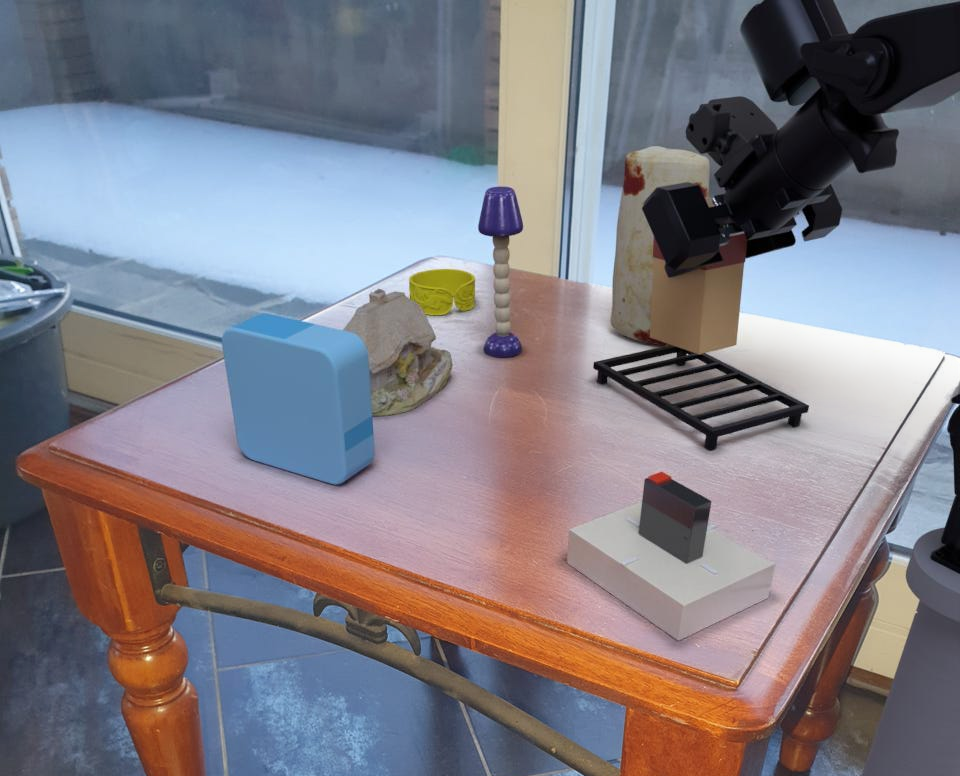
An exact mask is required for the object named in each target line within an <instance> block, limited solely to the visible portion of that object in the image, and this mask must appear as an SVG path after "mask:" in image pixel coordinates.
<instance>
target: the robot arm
mask: <svg viewBox="0 0 960 776" xmlns="http://www.w3.org/2000/svg"><path fill="white" fill-rule="evenodd" d="M739 33H740V36H741V38H742V40H743V43H744V44H745V46H746V49H747V51H748V53H749V56H750V58H751V60H752V62H753V64H754V66H755V69H756V71H757V73H758V75H759V77H760V80H761V82H762V85H763V86H764V88H765V89H764V90H765V91H766V93H767V95H768V97H769V99H770V101H771V102H773V103H783V102H787V103H788V105H789V106H791V107H796V106H800V105H801V107H799V109H798V110H796V112H795V113H793V115H792V116H791V117H790V118H789V119H788V120H786V122H785V123H784V124H783V125H782V126H781V127H780V128H779V129H778V126H777V125H776V123H775V122H774V121H773V120H772V119H771V118H770V117H769V116H768V115H767V114H766V113H765V112H764V111H763V110H762V109H761V108H760V107H759V106H758V105H757V104H756V103H755V102H754V101H753V100H752V99H750V98H748V97H746V96H741V95H739V96H737V95H736V96H730V97H722V98H715V99H714V98H713V99H710V100H709V101H708V102H707V103H701V104H700V105H699V107H698V109H697V110H696V111H695V112H694V113H693V112H692V113H691V114H690V115H689V117H688V123H687V125H686V128H685V138H686V140H687V141H688V142H689V143H690V144H691V145H692V146H693V148H694V149H695V150H696V151H697V152H698V154H699V155H704V154H707V155H708V156H709V157H710V158H711V159H712V160H713V161H714V162H715V164H717V165H718V166H720V167H719V168H718V169H717V171H715V173H714V174H713V176H714V179H715V181H716V183H717V185H718V188H720V189H722V188H724V191H725V192H724V193H721V194H716V195H714V196H712V197H711V198H712V203H713V205H714V206H713V207H709V206H708V204H707V202H706V199H705V197H704V195H703V193H702V190H701V188H700V186H699V185H697V184H693V183H690V182H685V183H679V184H673V185H668V186H662V187H657V188H656V189H655V190H654V191H653V192H652V193H651V194H650V196H649V197H648V198H647V199H646V200H645V201H644V204H643V206H642V210H643V213H644V215H645V217H646V219H647V222H648V224H649V226H650V228H651V231H652V233H653V235H654V237H655V240H656V242H657V244H658V247H659V249H660V251H661V253H662V256H663V258H664V260H665V262H666V264H665V266H664V268H665V271H666V273H667V276H668V277H669V278H670V277H674V276H678V275H681V274H684V273H687V272H691V271H694V270H697V269H700V268H703V267H707V266H710V265H713V264H716V263H720V262H722V261H723V259H722V256H721V254H720V252H719V247H720V246H724V245H726V244H727V243H728V242H729V240H730V236H733V235H738V234H743V233H745V236H746V238H747V249H746V259H750V258H755V257H758V256H760V255H764V254H768V253H769V254H770V253H772V252H776V251H779V250H782V249H786V248H790V247H793V246H794V245H795V244H796V242H797V239H796V236H795V234H794V232H793V230H792V229H794V228H795V227H796V226H797V225H798V223H797V221H796V218H797V217H798V216H799V215H800V212H801V211H802V213H803V215H804V218H805V219H806V222H807V224H808V225H807V226H806V227H805V228H804V229H803V230H802V231H801V238H802V240H803V242H809V241H813V240H814V241H815V240H818V239H822V238H823V239H824V238H826V237H827V236H828V235H829V234H830V233H831V232H833V231H834V230H835V229H837V227H839V226H840V223H841V219H842V213H843V207H842V205H841V203H840V200H839V198H838V196H837V194H836V192H835V190H834V187H833V185H832V183H833V182H834V181H836V180H837V179H838V178H839V177H840V176H841V175H842V174H844V173H845V172H846V171H847V170H848V169H849V168H851V167H852V166H853V165H854V167H855V168H856V172H858V173H859V174H867V173H873V172H878V171H882V170H889V169H892V168H894V167H895V166H896V163H897V156H898V148H897V142H898V141H897V140H898V137H899V135H900V130H899V129H898V128H892V127H888V125H886V123H885V121H884V119H883V116H882V115H883V114H890V113H895V112H902V111H908V110H917V109H923V108H931V107H933V106H936V105H938V104H940V103H941V102H943V101H945V100H947V99H949V98H950V97H952V96H953V95H956V94H957V93H959V92H960V0H958V1H954V2H949V3H942V4H937V5H931V6H926V7H920V8H915V9H911V10H906V11H902V12H897V13H892V14H889V15H883V16H878V17H875V18H872V19H869V20H868V21H866V22H865V23H863V24H862V25H860V26H859V27H858V28H857V29H856V31H854V32H852V33H849V31H848V29H847V27H846V25H845V22H844V20H843V18H842V16H841V14H840V12H839V8H838V7H837V5H836V2H835V0H762V1H761V2H760V3H756V4H754V5H753V6H752V7H751V8H750V9H749V11H748V12H747V13H746V15H745V16H744V18H743V20H742V22H741V24H740V27H739ZM950 402H951V403H952V404H955V405H958V406H957V407H956V408H955V409H954V410H953V411H952V413H951V415H950V417H949V419H948V422H947V427H946V432H947V433H948V434H949V443H950V446H951V449H952V455H953V457H952V459H953V491H954V492H953V493H954V495H955V496H954V498H953V501H952V504H951V508H950V510H949V513H948V516H947V520H946V522H945V525H944V527H945V528H944V527H943V528H944V531H943V534H942V537H941V543H942V544H944V546H942V547H940V548H938V549H936V550H934V551H933V552H932V553H931V556H930V558H931V560H933V561H935V562H937V563H939V564H941V565H943V566H945V567H947V568H949V569H951V570H953V571H955V572H957V573H959V574H960V393H958V394H956V395H955V396H953V397H951V399H950Z"/></svg>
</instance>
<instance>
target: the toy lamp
mask: <svg viewBox="0 0 960 776" xmlns="http://www.w3.org/2000/svg"><path fill="white" fill-rule="evenodd" d="M477 229H478V233H479V234H480V235H483V236H485V237H492V245H493V247H494V248H493V250H492V258H493V261H494V264H493V268H492V271H493V272H492V273H493V275H494V278H493V289H494V295H493V302H494V305H495V308H494V318H495V323H494V324H495V325H494V330H495V332H494V333H492V334H490V335H488V337H487V338H486V340H485V342H484V345H483V352H484V353H485V354H486V355H488V356H490V357H495V358H512V357H516V356H517V355H519V354H521V352H522V351H523V347H522V342H521V340H520V339H519V337H518V336H516V334H514V333H512V332H511V329H512V324H511V322H510V319H511V315H512V314H511V308H510V304H511V295H510V288H511V281H510V278H509V276H510V273H511V272H510V270H511V269H510V263H509V260H510V249H509V245H510V237H512V236H516V235H518V234H520V233H522V232H523V230H524V222H523V218H522V214H521V210H520V205H519V202H518V198H517V195H516V192H515V189H514V188H513V187H510V186H493V187H489V188H488V189H486V190H485V193H484V196H483V200H482V205H481V211H480V215H479V219H478V225H477Z"/></svg>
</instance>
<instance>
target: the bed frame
mask: <svg viewBox="0 0 960 776" xmlns="http://www.w3.org/2000/svg"><path fill="white" fill-rule="evenodd" d="M675 353H676V355H675V357H673V358H668V359H662V360H659V361H655V362H651V363H645V364H641V365H637V366H633V367H629V368H623V369H620V370H615V369H614V367H619V366H624V365H627V364H632V363H637V362H640V361H645V360H650V359H654V358H659V357H663V356H667V355H673V354H675ZM694 360H698V361H700V362H702V363H704V364H703V365H698V366H694V367H690V368H687V369H682V370H677V371H673V372H669V373H665V374H660V375H656V376H653V377H647V378H644V379H639V380H635V381H634V380H633V379H631V378H629V377H628V376H631V375H635V374H638V373H642V372H648V371H652V370H656V369H661V368H664V367H665V368H666V367H668V366H673V365H676V366H678V367H683V366H686V364H687V363H686V362H692V361H694ZM592 365H593V367H592V368H593V369H594V370H595V371H597V377H596V378H597V379H596V382H597V384H599V385H607V384H608V380H609V379H611V380H612V381H614V382H615V383H617V384H619V385H620V386H622V387H624V388H625V389H627V390H629V391H631V392H632V393H634V394H636V395H638V396H639V397H641V398H643V399H644V400H646V401H647V402H649V403H651V404H653V405H655V406H656V407H658V408H659V409H661V410H663V411H665V412H666V413H668V414H669V415H671V416H673V417H674V418H676V419H678V420H680V421H681V422H683V423H684V424H686V425H688V426H689V427H691V428H693V429H694V430H696V431H698V432H700V433H701V434H703V435H705V439H704V446H703V447H704V449H706V450H707V451H709V452H710V451H713V450H717V446H718V438H719V437H722V436H727V435H730V434H734V433H737V432H740V431H745V430H748V429H751V428H755V427H759V426H764V425H767V424H770V423H773V422H778V421H781V420H785V419H788V421H787V425H788V426H790V427H791V428H796V427H800V424H801V419H802V415H804V414H806V413H808V412H809V409H810V405H809V404H807V403H805V402H803V401H801V400H799V399H797V398H795V397H793V396H791V395H789V394H787V393H785V392H783V391H782V390H779V389H777V388H776V387H774V386H771V385H770V384H767V383H765V382H764V381H762V380H759V378H756V377H754V376H751V375H750V374H748V373H746V372H744V371H742V370H740V369H738V368H736V367H734V366H732V365H730V364H728V363H726V362H724V361H723V360H720V359H718V358H716V357H714V356H712V355H711V354H709V353H704V354H700V355H699V354H696V353H693V352H690V351H687V350H685V349H682V348H679V347H676V346H673V345H666V346H660V347H655V348H651V349H646V350H642V351H637V352H632V353H628V354H623V355H619V356H615V357H609V358H605V359H601V360H597V361H593V364H592ZM712 370H717V371H719V372H721V373H723V375H719V376H714V377H711V378H706V379H703V380H698V381H693V382H690V383H685V384H682V385H678V386H674V387H669V388H666V389H665V388H664V389H660V390H657V391H652V390H650V389H648V388H646V386H649V385H653V384H658V383H662V382H666V381H670V380H675V379H679V378H683V377H687V376H693V375H696V374H700V373H704V372H708V371H712ZM733 380H737V381H738V382H741V383H742V384H744V385H741V386H736V387H733V388H730V389H725V390H722V391H717V392H713V393H710V394H706V395H701V396H698V397H694V398H690V399H685V400H681V401H677V402H674V403H672V402H671V401H669V400H667V399H666V398H665V397H668V396H671V395H672V396H673V395H676V394H680V393H684V392H689V391H692V390H696V389H701V388H704V387H708V386H713V385H717V384H721V383H725V382H729V381H733ZM755 390H756V391H757V392H760V393H761V394H764V395H765V396H762V397H759V398H754V399H751V400H747V401H743V402H740V403H735V404H731V405H728V406H724V407H720V408H716V409H713V410H708V411H705V412H701V413H697V414H691V413H690V412H688V411H686V410H684V409H685V408H688V407H692V406H696V405H701V404H705V403H708V402H713V401H716V400H721V399H724V398H728V397H732V396H736V395H740V394H744V393H748V392H752V391H755ZM663 397H664V398H663ZM776 401H777V402H779V403H781V404H782V405H784V406H786V407H784V408H781V409H777V410H773V411H769V412H766V413H762V414H758V415H754V416H750V417H747V418H743V419H740V420H739V419H738V420H735V421H732V422H728V423H724V424H720V425H717V426H711V425H710V424H708V423H706V422H705V421H704V420H708V419H712V418H716V417H720V416H724V415H727V414H731V413H735V412H739V411H743V410H746V409H751V408H755V407H757V406H761V405H766V404H770V403H772V402H773V403H774V402H776Z"/></svg>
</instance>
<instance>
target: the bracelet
mask: <svg viewBox="0 0 960 776" xmlns="http://www.w3.org/2000/svg"><path fill="white" fill-rule="evenodd" d="M408 284H409V286H408V290H409V299H410V300H412V301H415V302H417V303H418V304H419V305H420V307H421V308H422V309H423V311H424V313H425V315H426V316H428V315H429V316H445V315H446V314H448V313H449V312H450V311H451V309H452V308H453V306H454V305H455V307H456V308H457V309H458V310H460V311H462V312H466V311H469V310H472V309H473V308H475V305H476V302H475V298H476V276H475V275H474V274H472V273H471V272H469V271H466V270H462V269H457V268H456V269H455V268H437V269H429V270H423V271H419V272H416V273H414V274H412V275H411V276H410V277H409V278H408Z"/></svg>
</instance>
